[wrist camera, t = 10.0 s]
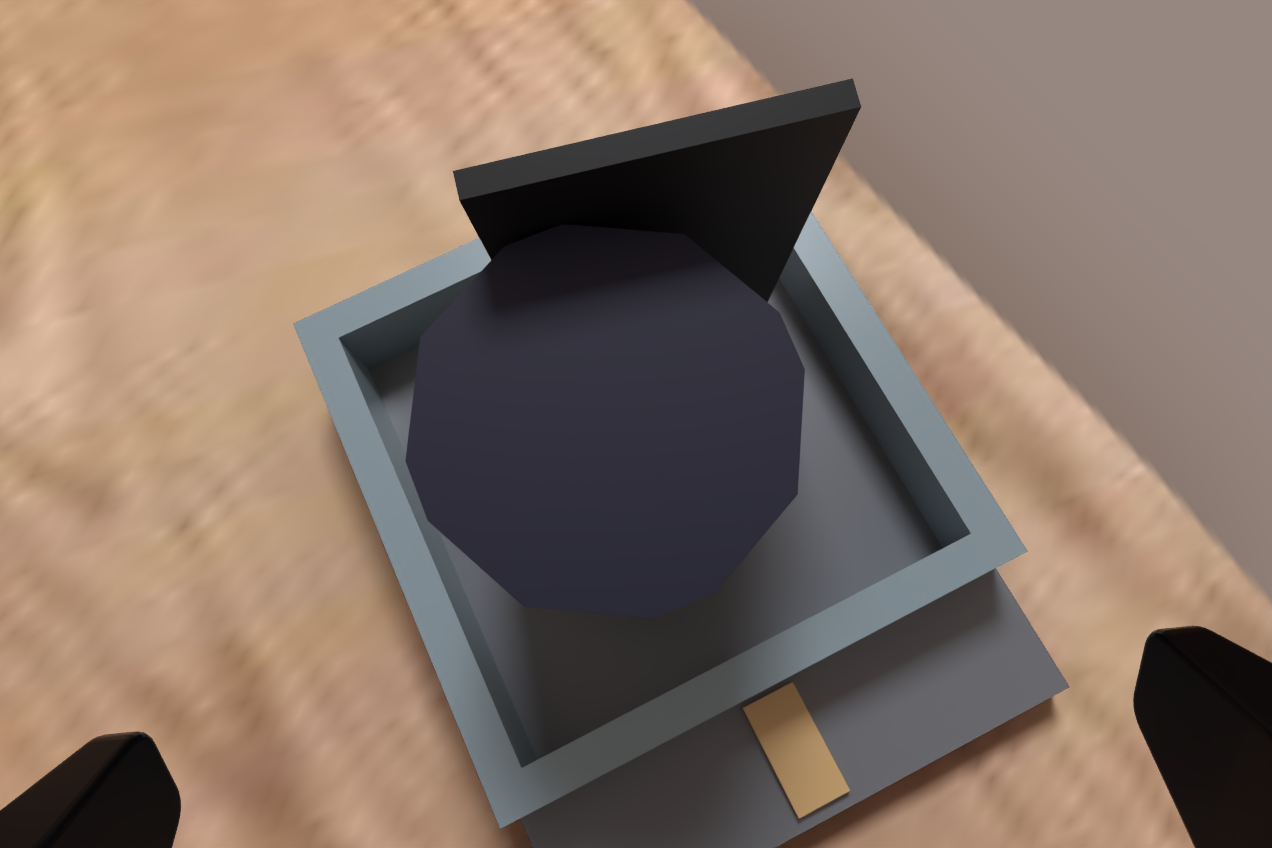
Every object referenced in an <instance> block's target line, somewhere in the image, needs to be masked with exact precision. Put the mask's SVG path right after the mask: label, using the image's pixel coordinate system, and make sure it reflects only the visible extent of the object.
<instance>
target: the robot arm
mask: <svg viewBox="0 0 1272 848" xmlns="http://www.w3.org/2000/svg"><path fill="white" fill-rule="evenodd" d="M1133 702H1134V712H1135V716H1136V720H1137V723H1138V725H1139V728H1140V730H1141V732H1142V734H1143V736H1144V738H1145V741H1146V743H1147V745H1148V747H1149V749H1150V751H1151V754H1152V756H1153V758H1154V760H1155V762H1156V764H1157V767H1158V769H1159V771H1160V773H1161V775H1162V777H1163V780H1164V782H1165V784H1166V786H1167V788H1168V790H1169V793H1170V795H1171V797H1172V799H1173V801H1174V803H1175V806H1176V808H1177V810H1178V812H1179V814H1180V816H1181V819H1182V821H1183V823H1184V825H1185V827H1186V829H1187V832H1188V834H1189V836H1190V838H1191V840H1192V842H1193V845H1194V847H1195V848H1272V663H1271V662H1269V661H1267V660H1266V659H1264V658H1262V657H1260V656H1258V655H1256V654H1254V653H1252V652H1251V651H1249V650H1247V649H1245V648H1243V647H1241V646H1239V645H1237V644H1236V643H1234V642H1232V641H1230V640H1228V639H1226V638H1224V637H1222V636H1221V635H1219V634H1217V633H1215V632H1213V631H1211V630H1209V629H1206V628H1204V627H1200V626H1186V627H1176V628H1166V629H1158V630H1156V631H1153V632H1152V633H1151V634H1150V635H1149V636H1148V638H1147V640H1146V643H1145V647H1144V651H1143V656H1142V660H1141V665H1140V669H1139V674H1138V678H1137V682H1136V687H1135V691H1134V699H1133ZM180 812H181V800H180V794H179V791H178V788H177V786H176V784H175V782H174V780H173V778H172V776H171V774H170V772H169V770H168V768H167V766H166V764H165V762H164V760H163V758H162V756H161V754H160V752H159V750H158V748H157V746H156V744H155V742H154V741H153V739H152V738H151V737H150V736H148V735H147V734H146V733H144V732H127V733H117V734H107V735H102V736H98V737H96V738H94V739H92V740H91V741H89V742H88V743H87V744H85V745H84V746H83V747H81V748H80V749H79V750H77V751H76V752H75V753H74V754H72V755H71V756H70V757H68V758H67V759H66V760H65V761H63V762H62V763H61V764H60V765H58V766H57V767H56V768H54V769H53V770H52V771H51V772H49V773H48V774H47V775H45V776H44V777H43V778H42V779H40V780H39V781H38V782H36V783H35V784H34V785H33V786H31V787H30V788H29V789H27V790H26V791H25V792H24V793H22V794H21V795H20V796H18V797H17V798H16V799H15V800H13V801H12V802H11V803H9V804H8V805H7V806H6V807H4V808H3V809H2V810H0V848H172V846H173V842H174V838H175V835H176V831H177V827H178V824H179V819H180Z"/></svg>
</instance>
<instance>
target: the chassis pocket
mask: <svg viewBox="0 0 1272 848" xmlns="http://www.w3.org/2000/svg"><path fill="white" fill-rule="evenodd" d="M490 261H491V259H490V257H489V255H488V253H487V251H486V249H485V247H484V246H483V244H482V242H481V240H480V238H478V239H475V240H473V241H471V242H469V243H467V244H465V245H462V246H460V247H458V248H456V249H454V250H452V251H449V252H447V253H445V254H443V255H441V256H439V257H436V258H434V259H432V260H430V261H428V262H426V263H423V264H421V265H419V266H417V267H415V268H413V269H410V270H408V271H406V272H404V273H402V274H400V275H397V276H395V277H393V278H391V279H389V280H387V281H384V282H382V283H380V284H378V285H376V286H374V287H371V288H369V289H367V290H365V291H363V292H361V293H358V294H356V295H354V296H352V297H350V298H348V299H345V300H343V301H341V302H339V303H337V304H335V305H332V306H330V307H328V308H326V309H324V310H322V311H319V312H317V313H315V314H313V315H311V316H309V317H306V318H304V319H302V320H300V321H298V322H295V323H293V325H294V327H295V330H296V332H297V334H298V337H299V339H300V342H301V344H302V347H303V349H304V352H305V354H306V356H307V359H308V361H309V364H310V366H311V369H312V371H313V374H314V376H315V378H316V381H317V383H318V386H319V388H320V391H321V393H322V395H323V398H324V400H325V403H326V405H327V408H328V410H329V413H330V415H331V417H332V420H333V422H334V425H335V427H336V430H337V432H338V434H339V437H340V439H341V442H342V444H343V447H344V449H345V452H346V454H347V456H348V459H349V461H350V464H351V466H352V469H353V471H354V474H355V476H356V478H357V481H358V483H359V486H360V488H361V491H362V493H363V495H364V498H365V500H366V503H367V505H368V508H369V510H370V513H371V515H372V517H373V520H374V522H375V525H376V527H377V530H378V532H379V534H380V537H381V539H382V542H383V544H384V547H385V549H386V552H387V554H388V556H389V559H390V561H391V564H392V566H393V569H394V571H395V573H396V576H397V578H398V581H399V583H400V586H401V588H402V591H403V593H404V595H405V598H406V600H407V603H408V605H409V608H410V610H411V613H412V615H413V617H414V620H415V622H416V625H417V627H418V630H419V632H420V634H421V637H422V639H423V642H424V644H425V647H426V649H427V652H428V654H429V656H430V659H431V661H432V664H433V666H434V669H435V671H436V673H437V676H438V678H439V681H440V683H441V686H442V688H443V691H444V693H445V695H446V698H447V700H448V703H449V705H450V708H451V710H452V712H453V715H454V717H455V720H456V722H457V725H458V727H459V730H460V732H461V734H462V737H463V739H464V742H465V744H466V747H467V749H468V752H469V754H470V756H471V759H472V761H473V764H474V766H475V769H476V771H477V773H478V776H479V778H480V781H481V783H482V786H483V788H484V791H485V793H486V795H487V798H488V800H489V803H490V805H491V808H492V810H493V812H494V815H495V817H496V820H497V822H498V825H499V827H500V829H501V828H503V827H505V826H507V825H509V824H511V823H513V822H514V821H516V820H518V819H521V821H522V823H523V826H524V828H525V831H526V833H527V835H528V838H529V840H530V842H531V845H532V847H533V848H775V847H777V846H779V845H781V844H783V843H785V842H786V841H788V840H790V839H792V838H794V837H796V836H797V835H799V834H801V833H803V832H805V831H807V830H808V829H810V828H812V827H814V826H816V825H818V824H819V823H821V822H823V821H825V820H827V819H829V818H830V817H832V816H834V815H836V814H838V813H840V812H841V811H843V810H845V809H847V808H849V807H851V806H852V805H854V804H856V803H858V802H860V801H862V800H863V799H865V798H867V797H869V796H871V795H873V794H874V793H876V792H878V791H880V790H882V789H884V788H885V787H887V786H889V785H891V784H893V783H895V782H897V781H898V780H900V779H902V778H904V777H906V776H908V775H909V774H911V773H913V772H915V771H917V770H919V769H920V768H922V767H924V766H926V765H928V764H930V763H931V762H933V761H935V760H937V759H939V758H941V757H942V756H944V755H946V754H948V753H950V752H952V751H953V750H955V749H957V748H959V747H961V746H963V745H964V744H966V743H968V742H970V741H972V740H974V739H975V738H977V737H979V736H981V735H983V734H985V733H986V732H988V731H990V730H992V729H994V728H996V727H997V726H999V725H1001V724H1003V723H1005V722H1007V721H1008V720H1010V719H1012V718H1014V717H1016V716H1018V715H1019V714H1021V713H1023V712H1025V711H1027V710H1029V709H1030V708H1032V707H1034V706H1036V705H1038V704H1040V703H1041V702H1043V701H1045V700H1047V699H1049V698H1051V697H1052V696H1054V695H1056V694H1058V693H1060V692H1062V691H1063V690H1065V689H1067V688H1069V685H1068V683H1067V682H1066V680H1065V679H1064V677H1063V675H1062V674H1061V672H1060V671H1059V669H1058V667H1057V666H1056V664H1055V663H1054V661H1053V659H1052V658H1051V656H1050V655H1049V653H1048V651H1047V650H1046V648H1045V646H1044V645H1043V643H1042V642H1041V640H1040V638H1039V637H1038V635H1037V634H1036V632H1035V630H1034V629H1033V627H1032V626H1031V624H1030V622H1029V621H1028V619H1027V618H1026V616H1025V614H1024V613H1023V611H1022V609H1021V608H1020V606H1019V605H1018V603H1017V601H1016V600H1015V598H1014V597H1013V595H1012V593H1011V592H1010V590H1009V589H1008V587H1007V585H1006V584H1005V582H1004V581H1003V579H1002V577H1001V576H1000V574H999V572H998V571H997V569H996V568H997V567H999V566H1000V565H1002V564H1004V563H1006V562H1008V561H1010V560H1012V559H1014V558H1016V557H1017V556H1019V555H1021V554H1023V553H1025V552H1027V549H1026V548H1025V546H1024V545H1023V543H1022V541H1021V540H1020V538H1019V537H1018V535H1017V534H1016V532H1015V530H1014V529H1013V527H1012V526H1011V524H1010V523H1009V521H1008V519H1007V518H1006V516H1005V515H1004V513H1003V512H1002V510H1001V508H1000V507H999V505H998V504H997V502H996V501H995V499H994V497H993V496H992V494H991V493H990V491H989V490H988V488H987V486H986V485H985V483H984V482H983V480H982V479H981V477H980V475H979V474H978V472H977V471H976V469H975V468H974V466H973V464H972V463H971V461H970V460H969V458H968V457H967V455H966V453H965V452H964V450H963V449H962V447H961V446H960V444H959V442H958V441H957V439H956V438H955V436H954V435H953V433H952V431H951V430H950V428H949V427H948V425H947V424H946V422H945V420H944V419H943V417H942V416H941V414H940V413H939V411H938V409H937V408H936V406H935V405H934V403H933V402H932V400H931V398H930V397H929V395H928V394H927V392H926V391H925V389H924V387H923V386H922V384H921V383H920V381H919V380H918V378H917V376H916V375H915V373H914V372H913V370H912V369H911V367H910V365H909V364H908V362H907V361H906V359H905V358H904V356H903V354H902V353H901V351H900V350H899V348H898V347H897V345H896V344H895V342H894V340H893V339H892V337H891V336H890V334H889V333H888V331H887V329H886V328H885V326H884V325H883V323H882V322H881V320H880V318H879V317H878V315H877V314H876V312H875V311H874V309H873V307H872V306H871V304H870V303H869V301H868V300H867V298H866V296H865V295H864V293H863V292H862V290H861V289H860V287H859V285H858V284H857V282H856V281H855V279H854V278H853V276H852V274H851V273H850V271H849V270H848V268H847V267H846V265H845V263H844V262H843V260H842V259H841V257H840V256H839V254H838V252H837V251H836V249H835V248H834V246H833V245H832V243H831V241H830V240H829V238H828V237H827V235H826V234H825V232H824V230H823V229H822V227H821V226H820V224H819V223H818V221H817V219H816V218H815V216H814V215H813V213H812V212H811V213H810V215H809V217H808V219H807V221H806V223H805V225H804V227H803V229H802V231H801V234H800V236H799V238H798V240H797V242H796V244H795V246H794V248H793V250H792V252H791V254H790V257H789V259H788V261H787V263H786V265H785V267H784V269H783V271H782V273H781V275H780V277H779V280H778V282H777V284H776V286H775V288H774V290H773V292H772V294H771V296H770V298H769V300H768V303H769V304H770V305H771V306H772V307H774V308H775V309H776V310H777V311H779V312H780V314H781V317H782V319H783V321H784V323H785V326H786V328H787V330H788V332H789V335H790V337H791V339H792V341H793V344H794V346H795V348H796V350H797V353H798V355H799V357H800V359H801V362H802V364H803V366H804V368H805V377H804V395H803V412H802V429H801V446H800V463H799V480H798V495H797V496H796V497H795V498H794V500H793V501H792V502H791V503H790V504H789V506H788V507H787V508H786V509H785V510H784V511H783V513H782V514H781V515H780V516H779V517H778V519H777V520H776V521H775V522H774V523H773V525H772V526H771V527H770V528H769V529H768V530H767V532H766V533H765V534H764V535H763V536H762V538H761V539H760V540H759V541H758V542H757V544H756V545H755V546H754V547H753V548H752V550H751V551H750V552H749V553H748V554H747V555H746V557H745V558H744V559H743V560H742V561H741V563H740V564H739V565H738V566H737V567H736V569H735V570H734V571H733V572H732V573H731V575H730V576H729V577H728V578H727V579H726V580H725V582H724V583H723V584H722V585H721V586H720V588H719V589H718V590H717V591H716V592H715V593H714V594H711V595H709V596H706V597H704V598H702V599H699V600H697V601H694V602H692V603H689V604H687V605H685V606H682V607H680V608H677V609H675V610H673V611H670V612H668V613H665V614H663V615H660V616H658V617H656V618H646V617H635V616H624V615H612V614H601V613H590V612H578V611H567V610H556V609H544V608H533V607H524V606H522V605H521V604H520V603H519V602H518V601H517V600H516V599H515V598H513V597H512V596H511V595H510V594H509V593H508V592H507V591H506V590H504V589H503V588H502V587H501V586H500V585H499V584H498V583H497V582H496V581H494V580H493V579H492V578H491V577H490V576H489V575H488V574H487V573H485V572H484V571H483V570H482V569H481V568H480V567H479V566H478V565H477V564H475V563H474V562H473V561H472V560H471V559H470V558H469V557H468V556H466V555H465V554H464V553H463V552H462V551H461V550H460V549H459V548H457V547H456V546H455V545H454V544H453V543H452V542H451V541H450V540H449V539H447V538H446V537H445V536H444V535H443V534H442V533H441V532H440V531H438V530H437V529H436V528H435V527H434V526H433V525H432V524H431V523H430V522H428V520H427V518H426V515H425V512H424V510H423V507H422V504H421V502H420V499H419V496H418V494H417V491H416V488H415V486H414V483H413V480H412V478H411V475H410V472H409V469H408V467H407V464H406V461H405V459H406V451H407V442H408V434H409V426H410V418H411V410H412V401H413V393H414V385H415V377H416V369H417V360H418V352H419V344H420V337H421V336H422V335H423V334H424V333H425V331H426V330H427V329H428V328H429V327H430V326H431V325H432V324H433V323H434V322H435V321H436V320H437V318H438V317H439V316H440V315H441V314H442V313H443V312H444V311H445V310H446V309H447V308H448V307H449V306H450V304H451V303H452V302H453V301H454V300H455V299H456V298H457V297H458V296H459V295H460V294H461V293H462V291H463V290H464V289H465V288H466V287H467V286H468V285H469V284H470V283H471V282H472V281H473V280H474V278H475V277H476V276H477V275H478V274H479V273H480V272H481V271H482V270H483V269H484V268H485V267H486V266H487V264H488V263H489V262H490Z"/></svg>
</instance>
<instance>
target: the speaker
mask: <svg viewBox="0 0 1272 848" xmlns="http://www.w3.org/2000/svg"><path fill="white" fill-rule="evenodd" d="M860 108H861V105H860V101H859V98H858V95H857V92H856V88H855V85H854V81H853V79H849V80H844V81H840V82H836V83H831V84H828V85H823V86H819V87H814V88H810V89H806V90H802V91H797V92H793V93H788V94H784V95H780V96H775V97H771V98H767V99H762V100H758V101H754V102H749V103H745V104H741V105H736V106H732V107H728V108H723V109H719V110H715V111H711V112H706V113H702V114H698V115H693V116H689V117H685V118H680V119H676V120H672V121H667V122H663V123H659V124H654V125H650V126H646V127H641V128H637V129H633V130H628V131H624V132H620V133H616V134H611V135H607V136H603V137H598V138H594V139H590V140H585V141H581V142H577V143H572V144H568V145H564V146H559V147H555V148H551V149H546V150H542V151H538V152H533V153H529V154H525V155H521V156H516V157H512V158H508V159H503V160H499V161H495V162H490V163H486V164H482V165H477V166H473V167H469V168H464V169H460V170H456V171H453V173H454V178H455V182H456V187H457V191H458V196H459V200H460V202H461V204H462V206H463V208H464V210H465V212H466V213H467V215H468V217H469V219H470V221H471V223H472V225H473V227H474V229H475V230H476V232H477V234H478V236H479V238H480V240H481V242H482V244H483V246H484V247H485V249H486V251H487V253H488V255H489V257H490V259H491V261H490V262H489V263H488V264H487V266H486V267H485V268H484V269H483V270H482V271H481V272H480V273H479V274H478V275H477V276H476V277H475V278H474V280H473V281H472V282H471V283H470V284H469V285H468V286H467V287H466V288H465V289H464V290H463V291H462V293H461V294H460V295H459V296H458V297H457V298H456V299H455V300H454V301H453V302H452V303H451V304H450V306H449V307H448V308H447V309H446V310H445V311H444V312H443V313H442V314H441V315H440V316H439V317H438V318H437V320H436V321H435V322H434V323H433V324H432V325H431V326H430V327H429V328H428V329H427V330H426V331H425V333H424V334H423V335H422V336H421V337H420V344H419V352H418V360H417V369H416V377H415V385H414V393H413V401H412V410H411V418H410V426H409V434H408V442H407V451H406V459H405V461H406V464H407V467H408V469H409V472H410V475H411V478H412V480H413V483H414V486H415V488H416V491H417V494H418V496H419V499H420V502H421V504H422V507H423V510H424V512H425V515H426V518H427V520H428V522H430V523H431V524H432V525H433V526H434V527H435V528H436V529H437V530H438V531H440V532H441V533H442V534H443V535H444V536H445V537H446V538H447V539H449V540H450V541H451V542H452V543H453V544H454V545H455V546H456V547H457V548H459V549H460V550H461V551H462V552H463V553H464V554H465V555H466V556H468V557H469V558H470V559H471V560H472V561H473V562H474V563H475V564H477V565H478V566H479V567H480V568H481V569H482V570H483V571H484V572H485V573H487V574H488V575H489V576H490V577H491V578H492V579H493V580H494V581H496V582H497V583H498V584H499V585H500V586H501V587H502V588H503V589H504V590H506V591H507V592H508V593H509V594H510V595H511V596H512V597H513V598H515V599H516V600H517V601H518V602H519V603H520V604H521V605H522V606H524V607H533V608H544V609H556V610H567V611H578V612H590V613H601V614H612V615H624V616H635V617H646V618H656V617H658V616H660V615H663V614H665V613H668V612H670V611H673V610H675V609H677V608H680V607H682V606H685V605H687V604H689V603H692V602H694V601H697V600H699V599H702V598H704V597H706V596H709V595H711V594H714V593H715V592H716V591H717V590H718V589H719V588H720V586H721V585H722V584H723V583H724V582H725V580H726V579H727V578H728V577H729V576H730V575H731V573H732V572H733V571H734V570H735V569H736V567H737V566H738V565H739V564H740V563H741V561H742V560H743V559H744V558H745V557H746V555H747V554H748V553H749V552H750V551H751V550H752V548H753V547H754V546H755V545H756V544H757V542H758V541H759V540H760V539H761V538H762V536H763V535H764V534H765V533H766V532H767V530H768V529H769V528H770V527H771V526H772V525H773V523H774V522H775V521H776V520H777V519H778V517H779V516H780V515H781V514H782V513H783V511H784V510H785V509H786V508H787V507H788V506H789V504H790V503H791V502H792V501H793V500H794V498H795V497H796V496H797V495H798V480H799V463H800V446H801V429H802V412H803V395H804V377H805V368H804V366H803V364H802V362H801V359H800V357H799V355H798V353H797V350H796V348H795V346H794V344H793V341H792V339H791V337H790V335H789V332H788V330H787V328H786V326H785V323H784V321H783V319H782V317H781V314H780V312H779V311H777V310H776V309H775V308H774V307H772V306H771V305H770V304H769V303H768V300H769V298H770V296H771V294H772V292H773V290H774V288H775V286H776V284H777V282H778V280H779V277H780V275H781V273H782V271H783V269H784V267H785V265H786V263H787V261H788V259H789V257H790V254H791V252H792V250H793V248H794V246H795V244H796V242H797V240H798V238H799V236H800V234H801V231H802V229H803V227H804V225H805V223H806V221H807V219H808V217H809V215H810V213H811V211H812V208H813V206H814V204H815V202H816V200H817V198H818V196H819V194H820V192H821V190H822V188H823V185H824V183H825V181H826V179H827V177H828V175H829V173H830V171H831V169H832V167H833V165H834V162H835V160H836V158H837V156H838V154H839V152H840V150H841V148H842V146H843V144H844V142H845V139H846V137H847V135H848V133H849V131H850V129H851V127H852V125H853V123H854V121H855V119H856V116H857V114H858V112H859V110H860Z"/></svg>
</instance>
